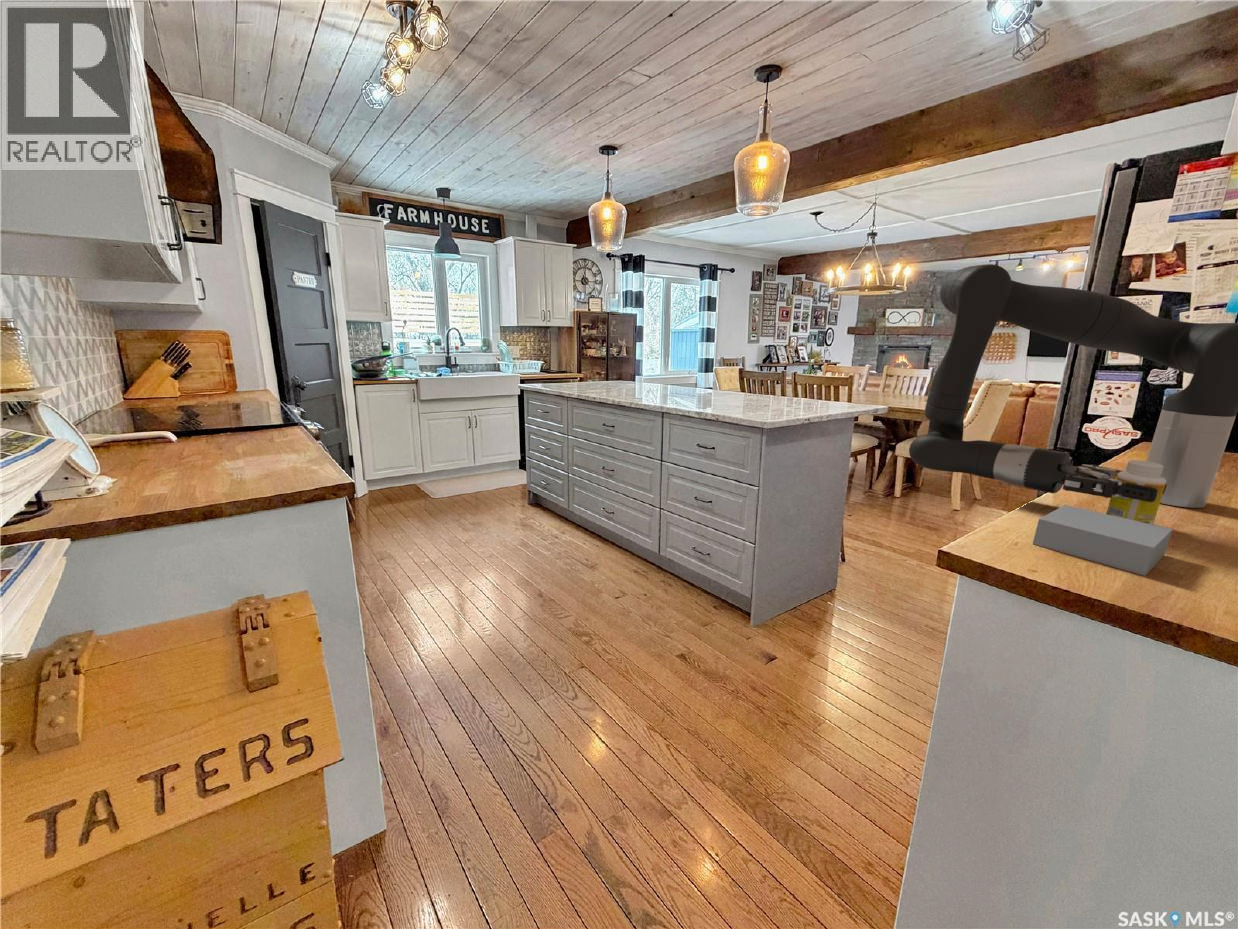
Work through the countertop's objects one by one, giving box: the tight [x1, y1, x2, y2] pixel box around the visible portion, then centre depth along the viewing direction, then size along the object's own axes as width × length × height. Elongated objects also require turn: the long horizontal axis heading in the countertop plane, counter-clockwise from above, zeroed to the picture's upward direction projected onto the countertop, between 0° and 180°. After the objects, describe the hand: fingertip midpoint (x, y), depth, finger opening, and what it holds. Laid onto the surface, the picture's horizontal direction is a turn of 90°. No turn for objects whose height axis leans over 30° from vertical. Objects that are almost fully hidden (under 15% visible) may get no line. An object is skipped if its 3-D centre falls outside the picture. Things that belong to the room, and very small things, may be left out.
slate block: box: [1032, 504, 1174, 577], centre depth 73 cm, size 12×12×4 cm
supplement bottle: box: [1105, 459, 1166, 525], centre depth 81 cm, size 6×6×10 cm
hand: (1160, 492), depth 79 cm, fingers closed on supplement bottle, 5 cm apart
